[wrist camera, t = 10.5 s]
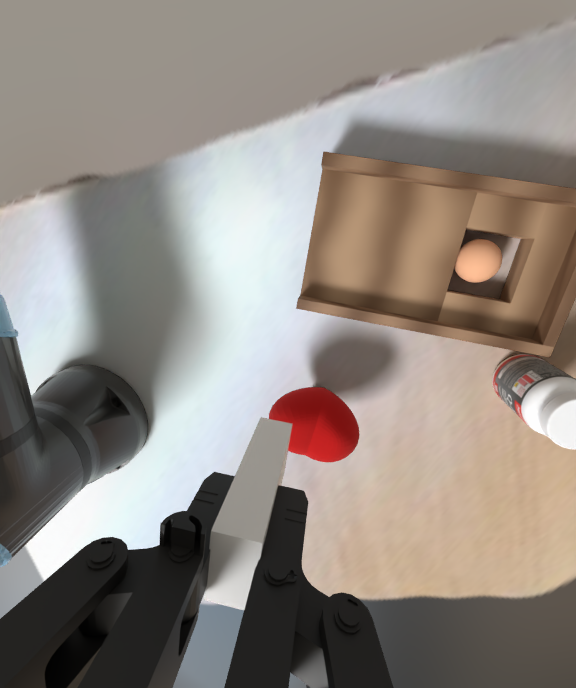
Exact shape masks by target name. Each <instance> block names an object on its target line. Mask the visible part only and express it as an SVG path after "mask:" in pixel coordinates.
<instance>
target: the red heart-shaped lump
mask: <svg viewBox="0 0 576 688" xmlns="http://www.w3.org/2000/svg"><path fill="white" fill-rule="evenodd" d="M269 419H271V420H276V421H281V422H286V423H291V424H292V429H291V435H290V441H289V447H288V451H290V452H293V453H296V454H301V455H306V456H308V457H310V458H311V459H314V460H317V461H322V462H335V461H339V460H341V459H343V458H345V457H347V456H348V455H349V454H351V453H352V452H353V451H354V449H355V447H356V446H357V444H358V440H359V427H358V424H357V421H356V418H355V416H354V415H353V413H352V411H351V410H350V409H349V407H348V406H347V405H346V404H345V403H344V402H343V401H342V400H341V399H340V398H339V397H338V396H336V395H335V394H334V393H332V392H331V391H329V390H327V389H326V388H322V387H308V388H302V389H298V390H295V391H292V392H290V393H287V394H285V395H284V396H282V397H281V398H280V399H278V400H277V401H276V403H275V404H274V405H273V406H272V409H271V411H270V413H269Z"/></svg>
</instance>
